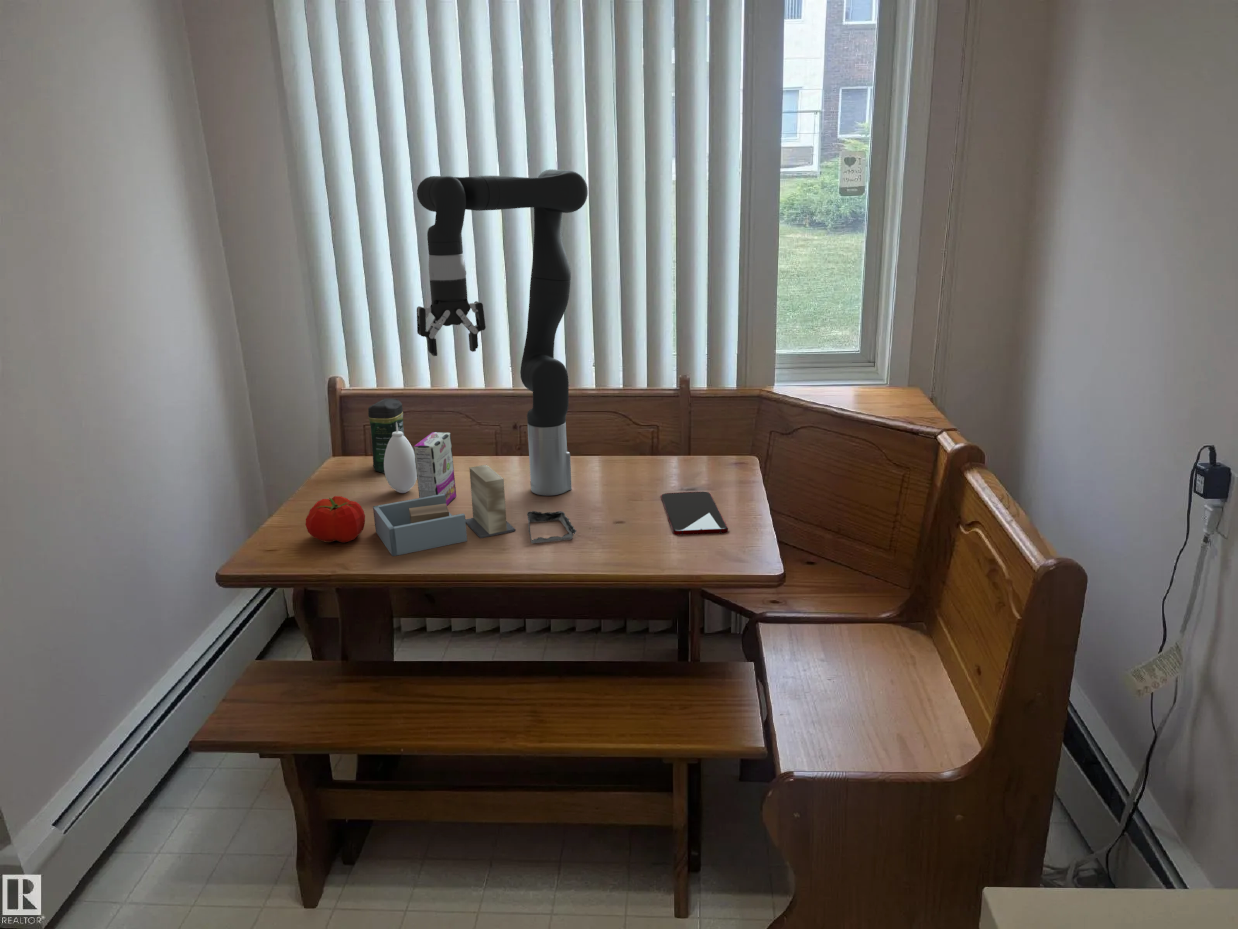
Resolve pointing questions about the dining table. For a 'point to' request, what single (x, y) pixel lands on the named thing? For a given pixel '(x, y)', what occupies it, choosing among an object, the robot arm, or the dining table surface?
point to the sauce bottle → (400, 463)
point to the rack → (417, 526)
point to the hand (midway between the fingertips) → (453, 353)
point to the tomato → (335, 520)
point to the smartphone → (693, 513)
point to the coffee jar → (384, 427)
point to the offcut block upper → (428, 513)
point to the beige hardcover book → (488, 499)
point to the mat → (481, 531)
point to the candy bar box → (435, 466)
